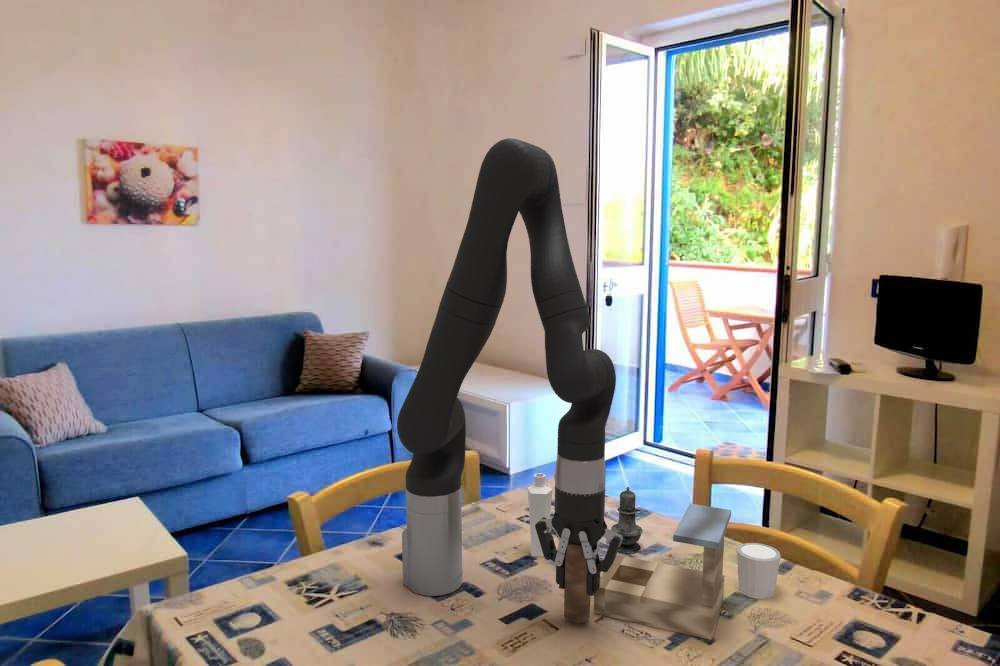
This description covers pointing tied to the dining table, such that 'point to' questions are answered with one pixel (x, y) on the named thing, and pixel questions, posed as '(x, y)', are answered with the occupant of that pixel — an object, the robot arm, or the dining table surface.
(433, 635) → the dining table surface
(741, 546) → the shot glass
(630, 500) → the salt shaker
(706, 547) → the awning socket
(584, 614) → the peg
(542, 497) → the perfume bottle
